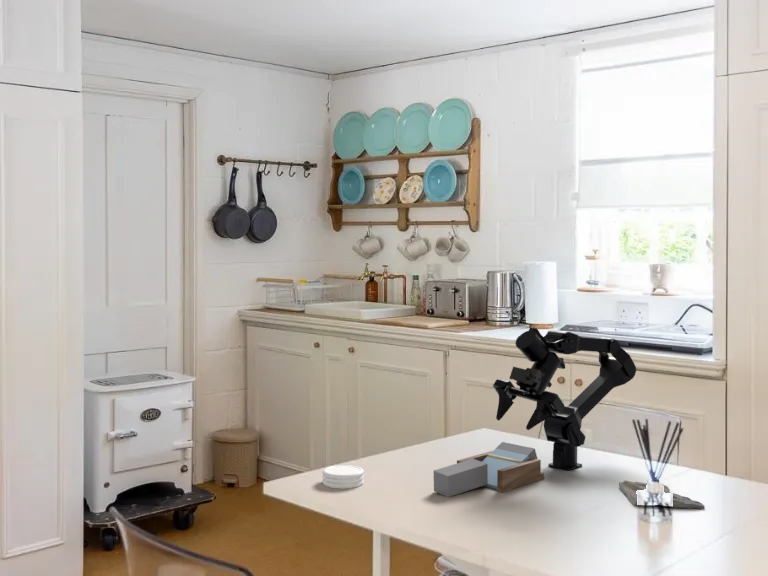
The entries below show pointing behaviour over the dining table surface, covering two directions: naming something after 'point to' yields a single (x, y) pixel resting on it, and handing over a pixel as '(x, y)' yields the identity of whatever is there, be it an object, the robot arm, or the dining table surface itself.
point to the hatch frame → (514, 473)
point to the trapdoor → (506, 459)
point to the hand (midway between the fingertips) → (512, 424)
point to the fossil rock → (678, 500)
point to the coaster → (343, 476)
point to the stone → (460, 477)
